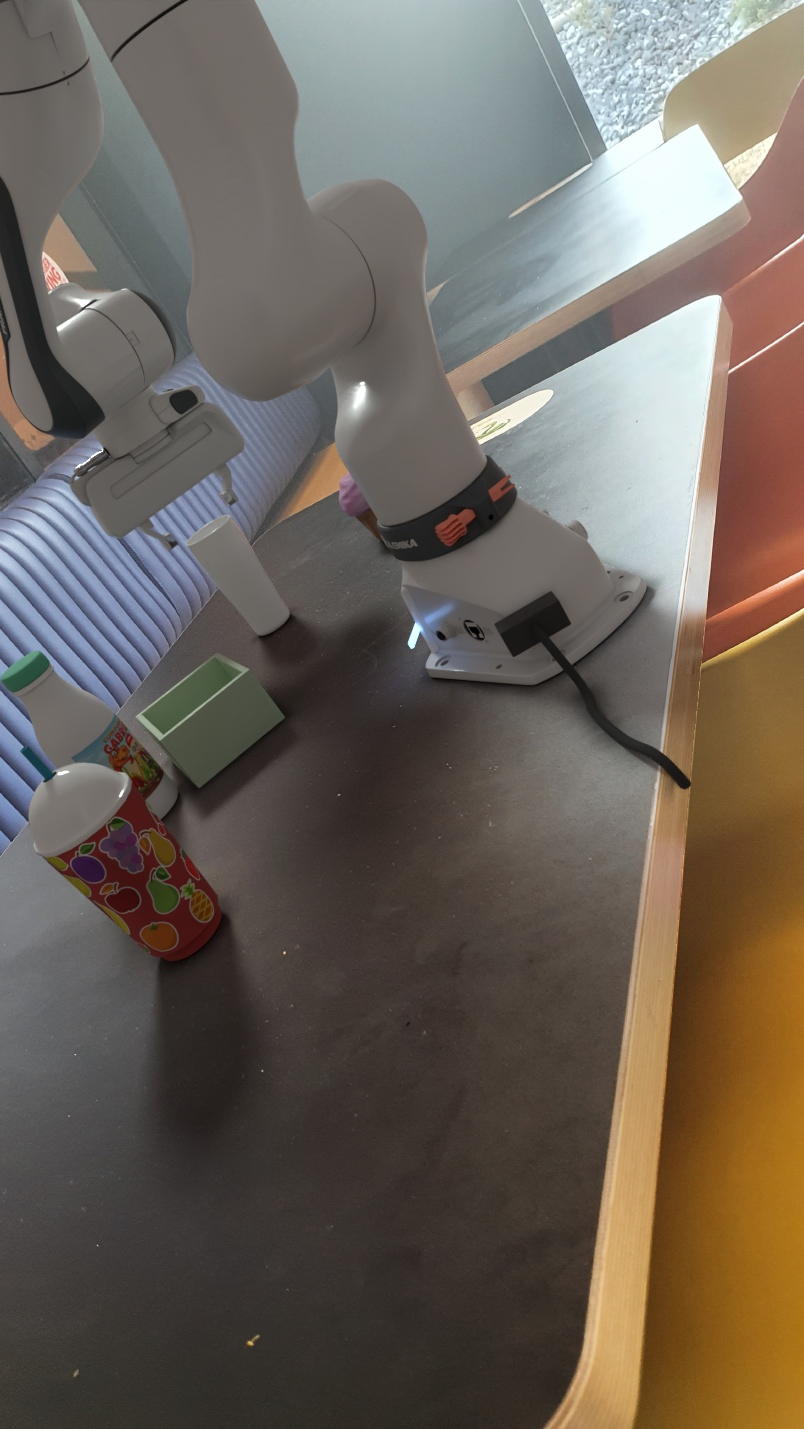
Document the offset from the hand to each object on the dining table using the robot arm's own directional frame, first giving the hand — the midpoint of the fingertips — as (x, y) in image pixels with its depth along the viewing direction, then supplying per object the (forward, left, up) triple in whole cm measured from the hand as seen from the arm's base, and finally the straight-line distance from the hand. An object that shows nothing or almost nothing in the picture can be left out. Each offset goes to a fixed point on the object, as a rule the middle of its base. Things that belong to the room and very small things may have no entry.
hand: (203, 525), depth 119 cm
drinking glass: (0, 0, -16) cm, 16 cm away
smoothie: (-49, +30, -16) cm, 60 cm away
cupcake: (0, -21, -16) cm, 26 cm away
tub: (-21, +16, -16) cm, 31 cm away
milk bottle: (-24, +27, -16) cm, 39 cm away
